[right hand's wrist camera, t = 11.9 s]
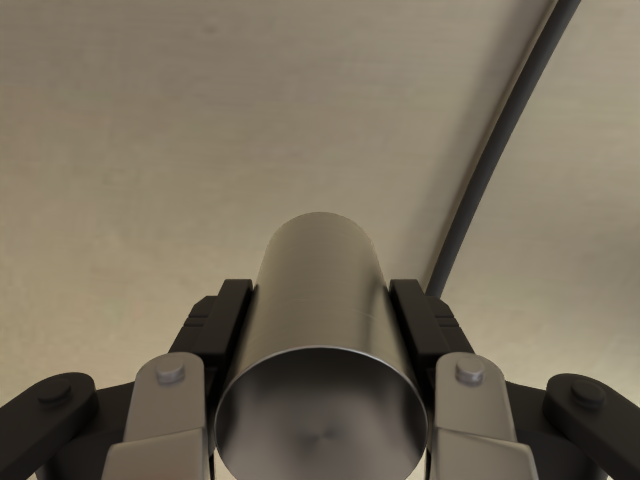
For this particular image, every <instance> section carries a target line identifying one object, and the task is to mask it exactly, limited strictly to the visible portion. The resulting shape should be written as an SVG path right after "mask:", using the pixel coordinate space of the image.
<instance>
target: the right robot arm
mask: <svg viewBox="0 0 640 480" xmlns="http://www.w3.org/2000/svg"><path fill="white" fill-rule="evenodd" d="M580 1H581V0H558V2H557V4H556V6H555V8H554V10H553V12H552V14H551V15H550V17H549V19H548V21H547V23H546V25H545V27H544V29H543V31H542V33H541V35H540V36H539V38H538V40H537V42H536V44H535V46H534V48H533V50H532V52H531V54H530V56H529V58H528V60H527V62H526V64H525V66H524V68H523V70H522V72H521V74H520V76H519V78H518V80H517V82H516V84H515V86H514V88H513V90H512V92H511V94H510V96H509V98H508V100H507V102H506V104H505V106H504V109H503V111H502V113H501V115H500V117H499V119H498V121H497V123H496V125H495V127H494V129H493V131H492V134H491V136H490V138H489V140H488V142H487V144H486V146H485V149H484V151H483V153H482V155H481V157H480V160H479V162H478V164H477V166H476V168H475V171H474V173H473V175H472V178H471V180H470V182H469V184H468V187H467V189H466V191H465V194H464V196H463V199H462V201H461V203H460V206H459V208H458V210H457V213H456V215H455V218H454V220H453V222H452V225H451V227H450V230H449V232H448V235H447V237H446V240H445V242H444V245H443V247H442V250H441V252H440V255H439V257H438V260H437V263H436V265H435V268H434V271H433V273H432V276H431V279H430V281H429V284H428V287H427V290H426V292H425V295H424V293H423V291H422V289H421V287H420V285H419V283H418V281H417V280H416V279H391V281H390V286H389V295H390V298H391V301H392V304H393V307H394V310H395V313H396V317H397V320H398V323H399V326H400V329H401V332H402V335H403V338H404V341H405V344H406V348H407V351H408V354H409V357H410V360H411V363H412V366H413V369H414V372H415V375H416V378H417V382H418V385H419V388H420V391H421V394H422V397H423V400H424V403H425V406H426V410H427V413H428V421H429V434H428V439H427V445H426V453H425V464H424V480H607V477H608V475H609V476H610V477H611V478H612V479H614V480H640V408H639V407H638V406H636V405H635V404H633V403H632V402H630V401H629V400H628V399H626V398H625V397H623V396H622V395H621V394H619V393H618V392H616V391H615V390H613V389H612V388H610V387H609V386H607V385H605V384H604V383H602V382H600V381H597V380H595V379H592V378H589V377H586V376H583V375H578V374H569V373H566V374H558V375H555V376H553V377H551V378H550V379H549V381H548V383H547V387H546V390H541V389H536V388H532V387H527V386H522V385H518V384H514V383H511V382H508V381H506V380H505V379H504V375H503V373H502V371H501V370H500V369H499V368H498V366H496V365H495V364H494V363H493V362H491V361H490V360H488V359H486V358H484V357H482V356H479V355H476V354H475V352H474V350H473V349H472V347H471V345H470V343H469V342H468V340H467V338H466V336H465V334H464V333H463V331H462V329H461V327H459V324H458V322H457V320H456V319H455V318H454V315H453V313H452V311H451V310H450V308H449V306H448V305H447V304H446V303H444V302H443V301H442V300H440V297H441V294H442V291H443V289H444V286H445V283H446V281H447V278H448V276H449V273H450V271H451V268H452V266H453V263H454V261H455V258H456V256H457V253H458V251H459V249H460V246H461V244H462V241H463V239H464V237H465V234H466V232H467V230H468V227H469V225H470V223H471V220H472V218H473V216H474V213H475V211H476V209H477V207H478V204H479V202H480V200H481V197H482V195H483V193H484V191H485V189H486V186H487V184H488V182H489V180H490V178H491V175H492V173H493V171H494V169H495V167H496V165H497V162H498V160H499V158H500V156H501V154H502V152H503V150H504V148H505V146H506V144H507V142H508V140H509V138H510V135H511V133H512V131H513V129H514V127H515V125H516V123H517V121H518V119H519V117H520V115H521V113H522V111H523V109H524V107H525V105H526V103H527V101H528V99H529V97H530V96H531V94H532V92H533V90H534V88H535V86H536V84H537V82H538V80H539V78H540V76H541V74H542V72H543V70H544V68H545V66H546V64H547V63H548V61H549V59H550V57H551V55H552V53H553V51H554V49H555V47H556V45H557V44H558V42H559V40H560V38H561V36H562V34H563V32H564V31H565V29H566V27H567V25H568V23H569V21H570V20H571V18H572V16H573V14H574V12H575V10H576V9H577V7H578V5H579V3H580ZM252 293H253V285H252V280H251V279H226V280H225V281H224V283H223V285H222V287H221V289H220V291H219V294H218V296H206V297H204V298H203V299H202V300H200V301H199V302H198V303H196V304H195V305H194V306H193V308H192V310H191V312H190V314H189V315H188V318H187V319H186V321H185V323H184V326H183V327H182V328H181V330H180V332H179V333H178V335H177V337H176V339H175V341H174V343H173V344H172V346H171V348H170V350H169V352H168V353H167V354H164V355H161V356H158V357H156V358H154V359H152V360H150V361H149V362H147V363H146V364H145V365H144V366H142V368H141V369H140V370H139V371H138V373H137V375H136V379H135V381H133V382H131V383H127V384H123V385H118V386H114V387H109V388H104V389H100V390H96V388H95V384H94V381H93V379H92V378H91V377H90V376H89V375H87V374H84V373H78V372H71V373H63V374H59V375H55V376H52V377H49V378H46V379H44V380H42V381H40V382H38V383H36V384H34V385H33V386H31V387H29V388H28V389H27V390H25V391H24V392H22V393H21V394H19V395H18V396H17V397H15V398H14V399H12V400H11V401H10V402H8V403H7V404H5V405H4V406H2V407H1V408H0V480H26V479H28V478H29V477H30V476H31V475H32V474H33V473H34V472H35V474H36V477H37V480H216V464H215V453H214V450H215V447H216V443H215V438H214V430H213V422H214V414H215V410H216V407H217V404H218V401H219V397H220V394H221V391H222V388H223V385H224V382H225V378H226V375H227V372H228V369H229V366H230V363H231V359H232V356H233V353H234V350H235V347H236V344H237V340H238V337H239V334H240V331H241V328H242V325H243V321H244V318H245V315H246V312H247V309H248V306H249V302H250V299H251V296H252Z"/></svg>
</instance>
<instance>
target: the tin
mask: <svg viewBox="0 0 640 480" xmlns="http://www.w3.org/2000/svg"><path fill="white" fill-rule="evenodd" d="M213 430H214V438H215V443H216V447H217V450H218V453H219V455H220V457H221V459H222V461H223V463H224V464H225V466H226V467H227V469H228V470H229V471H230V473H231V474H232V475H233V476H234V477H235V478H236V479H237V480H405V479H406V478H407V477H408V476H409V475H410V474H411V473H412V471H413V470H414V469H415V467H416V466H417V464H418V463H419V461H420V459H421V457H422V455H423V453H424V450H425V448H426V444H427V439H428V434H429V421H428V413H427V410H426V406H425V403H424V400H423V397H422V394H421V391H420V388H419V385H418V382H417V378H416V375H415V372H414V369H413V366H412V363H411V360H410V357H409V354H408V351H407V348H406V344H405V341H404V338H403V335H402V332H401V329H400V326H399V323H398V320H397V317H396V313H395V310H394V307H393V304H392V301H391V298H390V295H389V292H388V289H387V286H386V283H385V279H384V276H383V273H382V270H381V267H380V264H379V261H378V258H377V255H376V252H375V249H374V246H373V244H372V242H371V240H370V238H369V237H368V235H367V234H366V233H365V231H364V230H363V229H362V228H361V227H360V226H358V225H357V224H356V223H354V222H353V221H351V220H350V219H348V218H345V217H343V216H340V215H337V214H333V213H327V212H314V213H308V214H304V215H301V216H298V217H296V218H293V219H291V220H290V221H288V222H287V223H285V224H284V225H283V226H281V227H280V228H279V229H278V230H277V231H276V232H275V234H274V235H273V237H272V238H271V239H270V241H269V243H268V246H267V248H266V252H265V255H264V258H263V261H262V264H261V267H260V271H259V274H258V277H257V280H256V283H255V286H254V290H253V293H252V296H251V299H250V302H249V306H248V309H247V312H246V315H245V318H244V321H243V325H242V328H241V331H240V334H239V337H238V340H237V344H236V347H235V350H234V353H233V356H232V359H231V363H230V366H229V369H228V372H227V375H226V378H225V382H224V385H223V388H222V391H221V394H220V397H219V401H218V404H217V407H216V410H215V414H214V422H213Z"/></svg>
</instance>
